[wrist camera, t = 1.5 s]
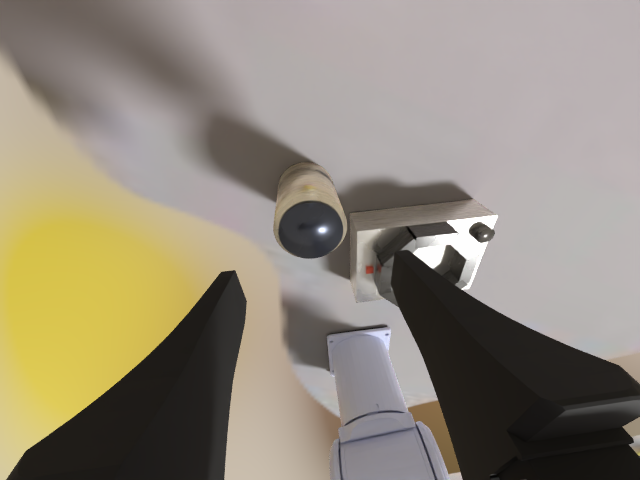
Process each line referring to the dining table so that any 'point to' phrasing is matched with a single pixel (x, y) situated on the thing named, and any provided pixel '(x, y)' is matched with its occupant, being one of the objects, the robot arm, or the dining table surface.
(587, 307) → the dining table surface
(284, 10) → the dining table surface
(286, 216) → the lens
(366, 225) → the white knob box
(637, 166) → the dining table surface
